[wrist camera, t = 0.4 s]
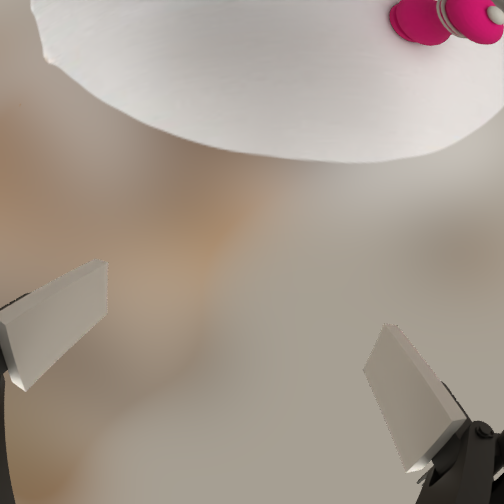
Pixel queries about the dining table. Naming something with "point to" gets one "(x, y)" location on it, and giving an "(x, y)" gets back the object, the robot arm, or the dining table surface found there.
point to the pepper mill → (447, 20)
